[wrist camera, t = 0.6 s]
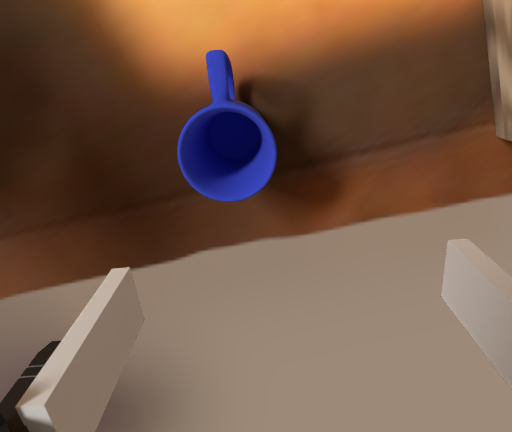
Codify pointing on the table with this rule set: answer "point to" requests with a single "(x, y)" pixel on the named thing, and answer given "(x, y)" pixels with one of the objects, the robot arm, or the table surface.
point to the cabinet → (500, 62)
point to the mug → (226, 141)
